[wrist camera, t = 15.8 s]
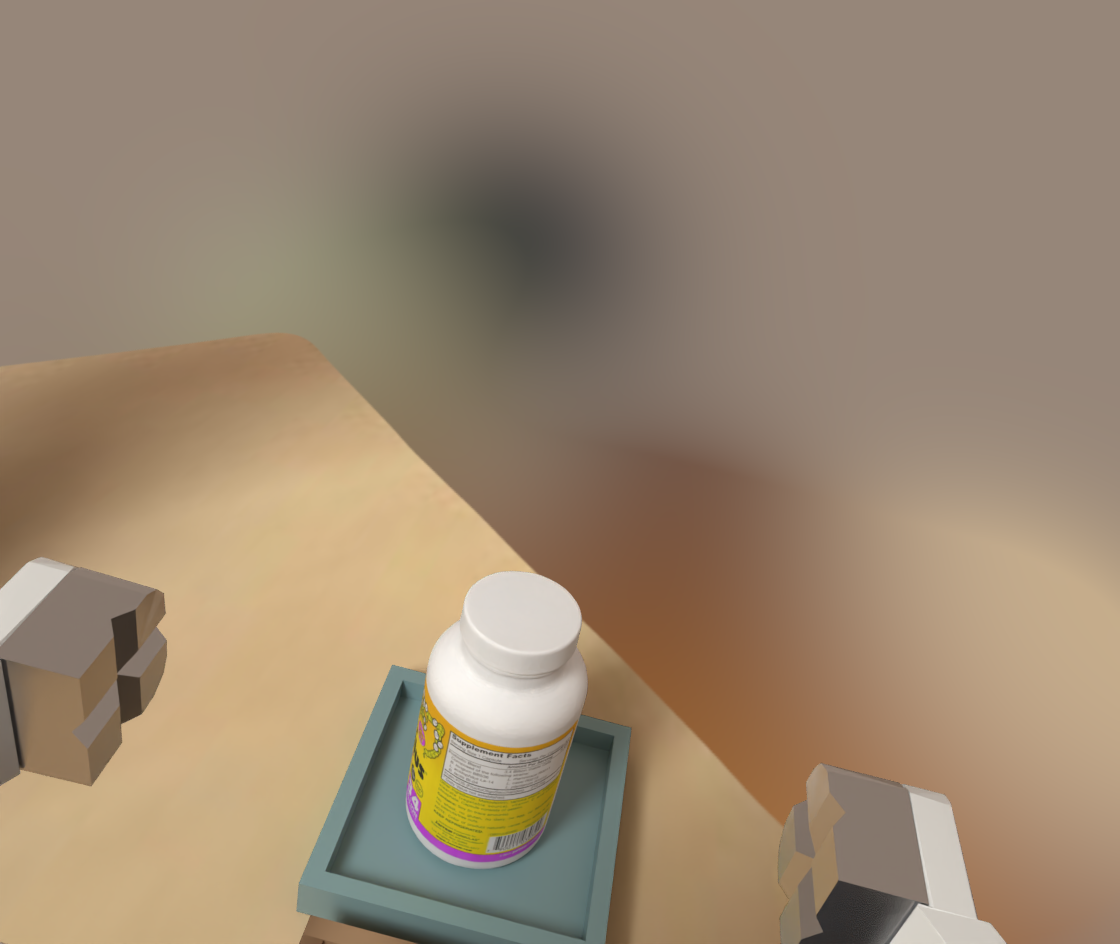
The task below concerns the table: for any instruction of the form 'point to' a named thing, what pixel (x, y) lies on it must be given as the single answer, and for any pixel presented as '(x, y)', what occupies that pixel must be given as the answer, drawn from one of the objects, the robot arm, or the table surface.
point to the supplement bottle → (497, 721)
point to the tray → (453, 891)
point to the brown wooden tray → (342, 934)
